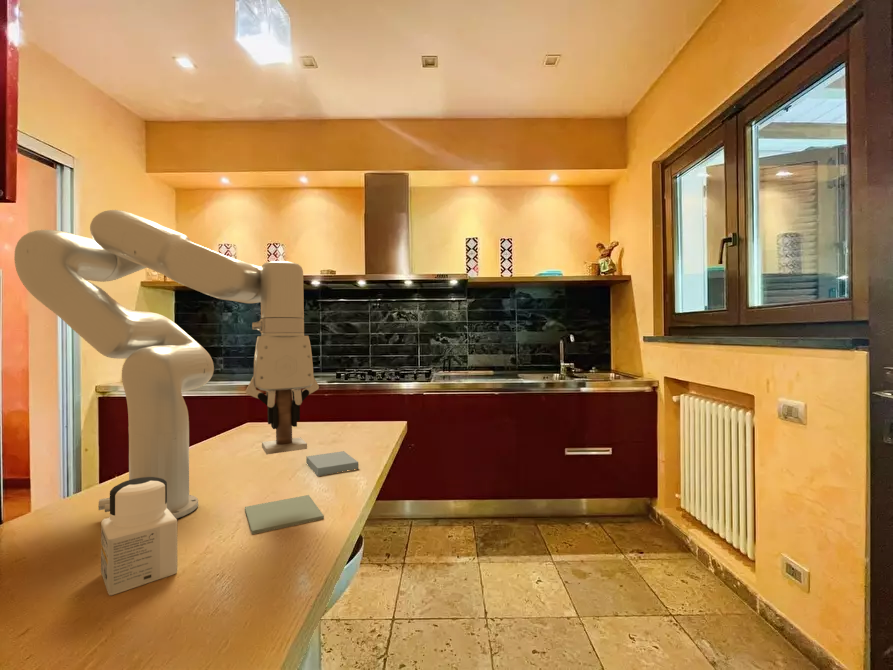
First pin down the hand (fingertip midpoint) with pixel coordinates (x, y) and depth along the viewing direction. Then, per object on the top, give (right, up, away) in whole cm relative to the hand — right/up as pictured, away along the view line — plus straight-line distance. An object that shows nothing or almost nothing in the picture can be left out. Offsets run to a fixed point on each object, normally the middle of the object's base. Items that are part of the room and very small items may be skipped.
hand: (284, 425), depth 81 cm
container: (-13, -17, -20) cm, 29 cm away
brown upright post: (0, -4, 0) cm, 4 cm away
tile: (-3, -16, +27) cm, 32 cm away
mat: (0, -17, 0) cm, 17 cm away
